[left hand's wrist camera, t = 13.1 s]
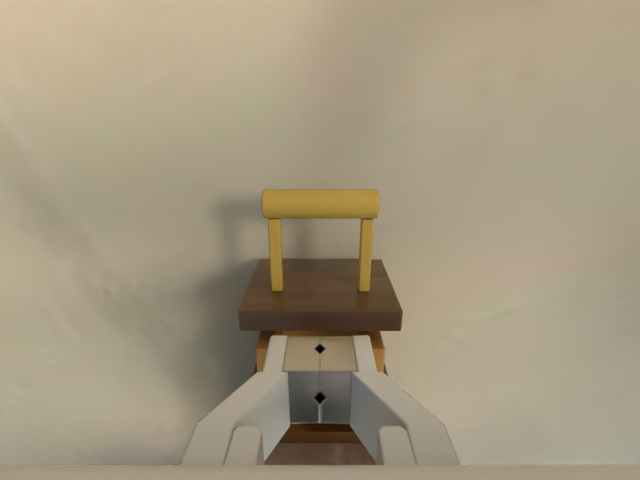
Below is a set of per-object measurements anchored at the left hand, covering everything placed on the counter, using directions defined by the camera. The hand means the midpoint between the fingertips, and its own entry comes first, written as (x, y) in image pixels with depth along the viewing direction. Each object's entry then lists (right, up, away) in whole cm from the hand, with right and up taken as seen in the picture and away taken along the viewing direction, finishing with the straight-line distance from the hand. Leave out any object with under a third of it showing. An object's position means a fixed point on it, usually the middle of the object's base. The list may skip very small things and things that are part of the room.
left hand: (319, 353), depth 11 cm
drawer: (0, -1, +14) cm, 14 cm away
